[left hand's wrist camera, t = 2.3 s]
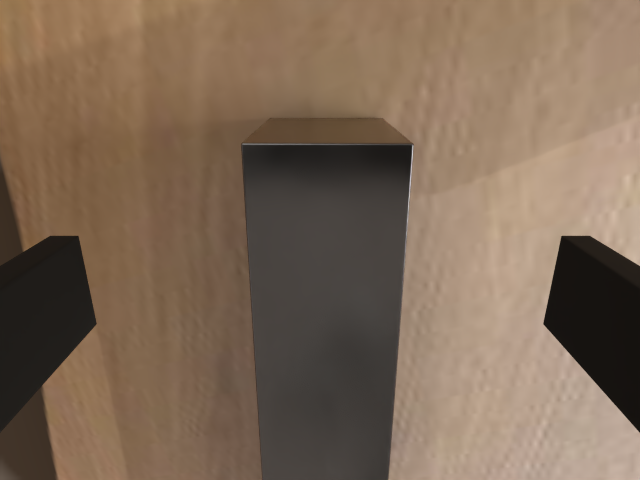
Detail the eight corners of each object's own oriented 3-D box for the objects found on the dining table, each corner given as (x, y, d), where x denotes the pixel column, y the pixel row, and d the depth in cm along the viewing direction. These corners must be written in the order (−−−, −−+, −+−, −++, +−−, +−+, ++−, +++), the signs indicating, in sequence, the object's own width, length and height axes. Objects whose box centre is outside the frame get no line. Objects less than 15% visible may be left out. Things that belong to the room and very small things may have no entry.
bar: (269, 118, 22) (240, 142, 14) (383, 118, 22) (414, 143, 14) (284, 496, 31) (271, 630, 24) (364, 496, 31) (377, 632, 23)
